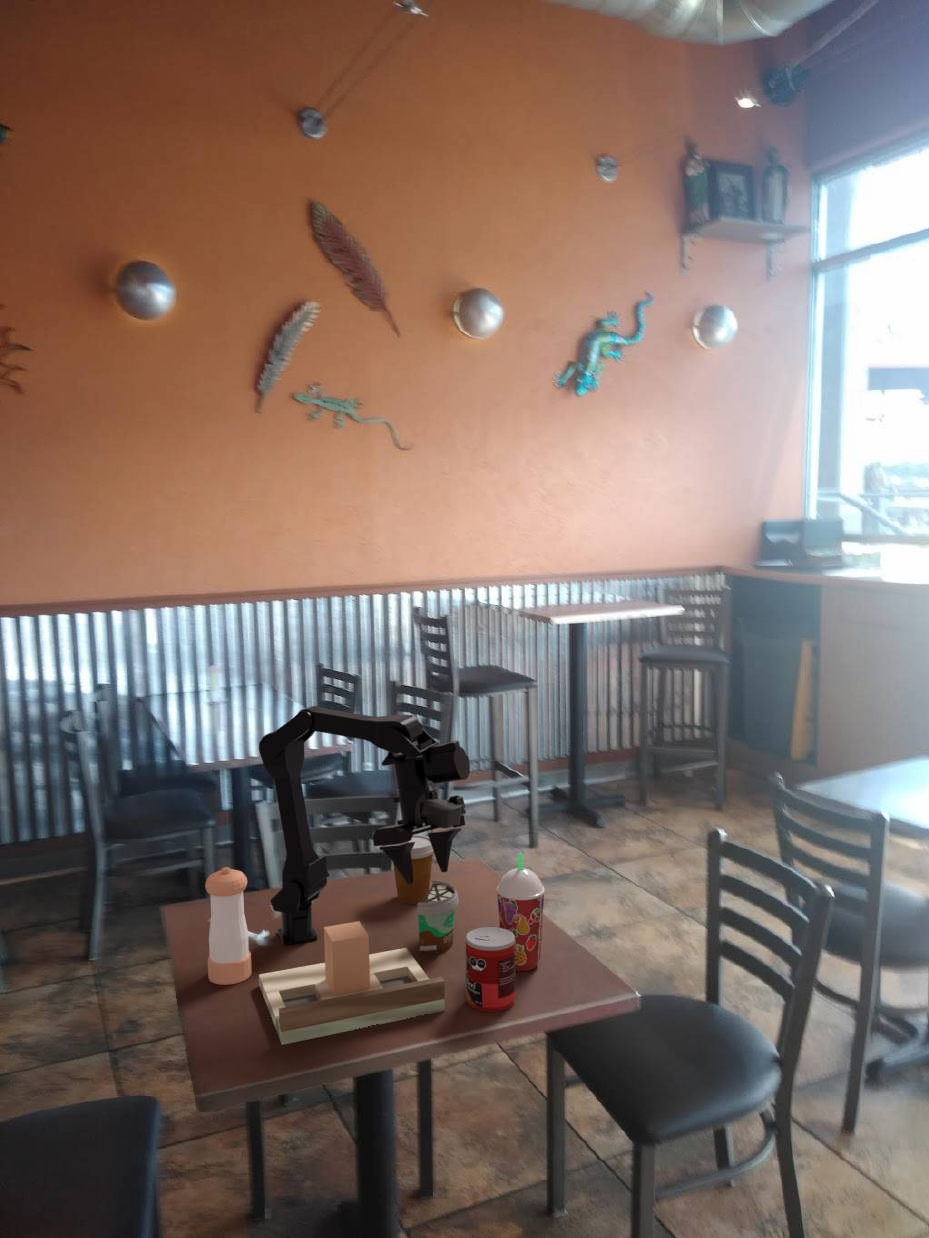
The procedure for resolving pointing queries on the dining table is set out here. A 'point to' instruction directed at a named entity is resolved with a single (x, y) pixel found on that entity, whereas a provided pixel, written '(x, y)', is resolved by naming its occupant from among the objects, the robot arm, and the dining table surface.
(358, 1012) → the board
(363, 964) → the block
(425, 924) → the food container
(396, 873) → the disposable coffee cup
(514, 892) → the smoothie
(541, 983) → the dining table surface
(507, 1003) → the canned food
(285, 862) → the robot arm
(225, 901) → the salt shaker
